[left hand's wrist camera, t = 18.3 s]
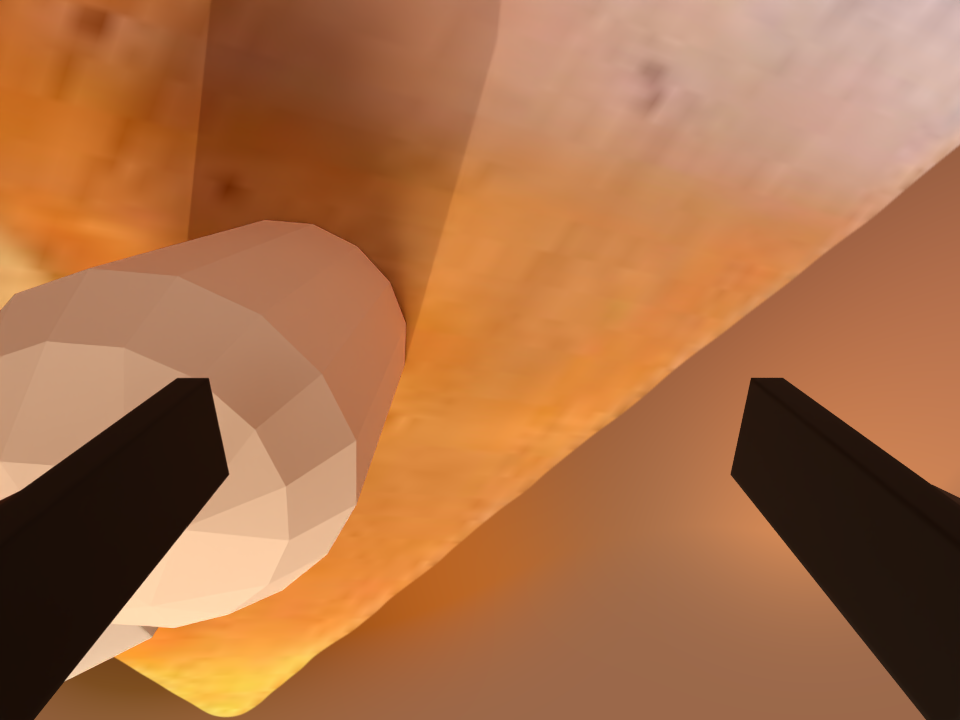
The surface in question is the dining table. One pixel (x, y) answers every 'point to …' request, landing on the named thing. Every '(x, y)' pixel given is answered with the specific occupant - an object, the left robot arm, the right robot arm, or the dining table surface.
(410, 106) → the dining table surface
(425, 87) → the dining table surface
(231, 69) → the dining table surface
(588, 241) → the dining table surface
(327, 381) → the container
